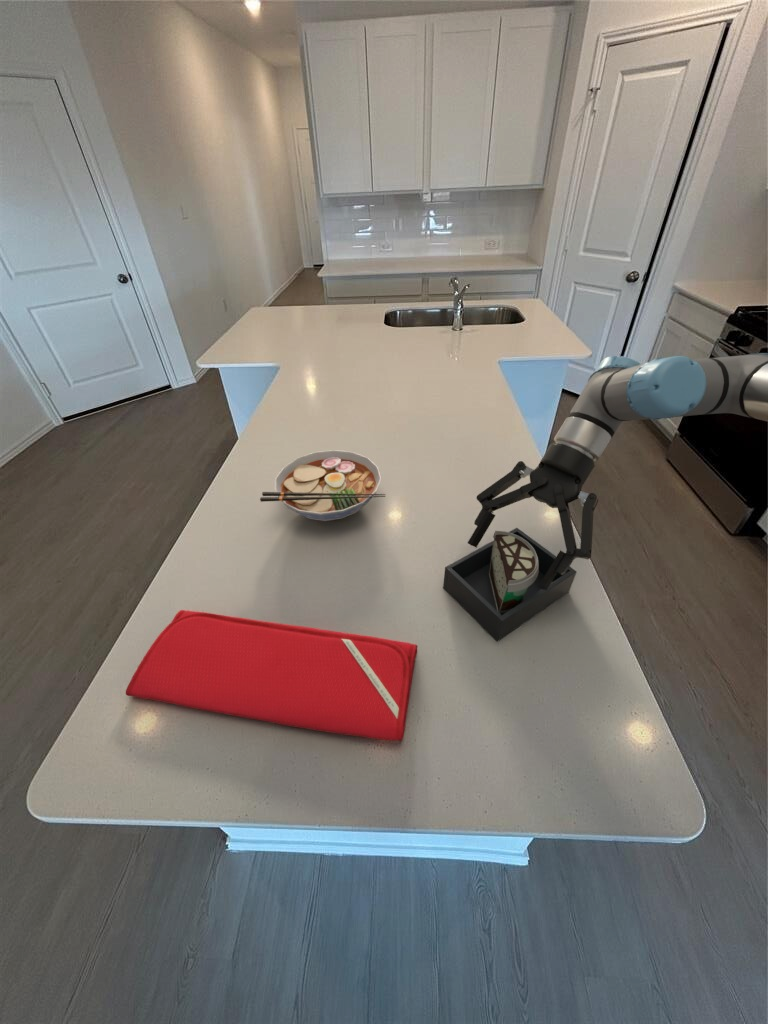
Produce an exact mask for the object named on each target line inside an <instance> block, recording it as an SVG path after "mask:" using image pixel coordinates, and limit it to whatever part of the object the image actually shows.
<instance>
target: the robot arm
mask: <svg viewBox="0 0 768 1024" xmlns="http://www.w3.org/2000/svg"><path fill="white" fill-rule="evenodd" d="M716 414H734V415H738V416H742V417H745V418H750V419H753V420H760V421H763V422H768V353H767V352H755V353H753V352H752V353H748V354H744V355H743V354H741V355H732V356H721V357H720V356H719V357H702V358H701V357H700V358H690V357H688V356H684V355H673V356H668V357H658V358H655V359H651V360H649V361H647V362H644V363H640V362H639V361H637V360H635V359H633V358H630V357H627V356H624V355H621V356H617V355H610V356H607V357H605V358H603V359H602V360H601V361H600V362H599V364H598V365H597V367H596V368H595V370H594V371H593V372H592V373H591V374H590V376H589V377H588V380H587V382H586V384H585V386H584V388H583V389H582V391H581V393H580V394H579V396H578V398H577V399H576V401H575V403H574V405H573V406H572V408H571V409H570V411H569V413H568V415H567V417H566V418H565V420H564V422H563V423H562V425H561V426H560V428H559V429H558V431H557V433H556V434H555V436H554V437H553V441H554V442H553V443H550V445H549V446H548V447H547V450H546V451H545V453H544V455H543V456H542V458H541V459H540V461H539V463H538V465H537V466H536V467H535V468H534V469H533V468H531V467H530V466H528V465H527V464H526V463H525V462H524V461H522V460H520V461H517V463H516V464H515V466H514V467H513V468H512V470H511V471H509V472H508V473H507V474H505V475H503V477H501V478H500V479H498V480H497V481H495V482H494V483H493V484H491V485H490V486H488V487H487V488H486V489H484V490H483V491H481V492H480V493H478V494H477V495H476V501H478V502H479V503H480V505H481V509H480V511H479V513H478V514H477V517H476V518H475V520H474V523H473V524H474V525H475V526H476V527H475V529H474V531H473V532H472V534H471V536H470V538H469V539H468V541H467V544H468V545H469V546H472V547H474V548H478V546H479V544H480V542H481V541H482V539H483V537H484V536H485V534H486V532H487V531H488V530H489V528H490V526H491V524H492V522H493V521H494V520H495V517H496V514H494V512H495V511H498V510H500V509H502V508H503V509H504V508H505V507H508V506H510V505H512V504H515V503H518V502H520V501H523V500H526V499H530V498H534V499H535V500H536V501H537V502H539V503H543V504H546V505H547V506H548V507H550V508H552V509H557V512H558V514H559V519H560V525H561V530H562V535H563V539H564V544H565V545H564V546H565V551H563V550H561V549H560V550H559V552H558V553H557V555H556V558H555V560H554V561H553V563H552V565H551V566H550V568H549V570H548V571H547V573H546V574H545V576H544V578H543V579H542V581H541V583H540V584H539V586H538V587H539V588H541V589H543V590H547V589H548V587H549V585H550V584H551V582H552V581H553V579H554V577H555V576H556V574H557V573H559V574H561V575H563V574H565V573H566V571H567V570H568V568H569V566H570V567H571V566H572V563H573V562H574V560H575V559H578V558H579V559H583V560H590V559H591V557H592V549H593V533H594V532H593V529H594V512H595V510H596V507H597V505H598V503H599V498H598V496H597V495H596V493H594V492H590V493H588V492H586V491H585V492H584V491H582V488H583V487H584V484H585V483H586V481H587V479H588V478H589V477H590V474H591V473H592V472H593V469H594V468H595V466H596V465H595V462H596V461H599V460H600V458H601V456H602V455H603V453H604V451H605V450H606V448H607V447H608V445H609V444H610V442H611V440H612V439H613V437H614V435H615V434H616V432H617V430H618V429H619V427H620V426H621V424H622V423H623V422H631V421H640V420H644V421H645V420H661V419H664V420H665V419H672V418H681V417H689V416H701V415H703V416H704V415H716ZM528 476H529V482H528V483H526V484H523V485H522V486H520V487H519V488H517V489H514V490H512V491H510V492H509V491H508V492H507V493H504V492H505V491H506V490H508V489H509V488H510V487H512V486H513V485H515V484H516V483H518V482H519V481H520V480H521V479H525V478H526V477H528ZM502 493H504V494H502ZM500 494H501V495H500ZM578 499H580V502H579V503H580V506H581V507H582V513H581V530H580V531H581V532H580V548H578V546H577V542H576V537H575V533H574V528H573V522H572V518H571V511H570V505H569V503H570V504H571V503H572V502H575V501H576V500H578Z"/></svg>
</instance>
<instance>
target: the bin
mask: <svg viewBox="0 0 768 1024" xmlns="http://www.w3.org/2000/svg"><path fill="white" fill-rule="evenodd" d="M508 532H509V533H512V534H515V535H517V536H520V537H521V538H523V539H525V540H526V541H527V542H528V543H529V544H530V545H531V546H532V547H533V548H534V550H535V552H536V554H537V557H538V562H539V572H538V576H537V578H536V580H535V581H534V582H533V583H532V584H531V585H530V586H529V587H528V589H527V591H526V594H525V596H524V598H523V601H522V603H520V604H519V605H517V606H516V607H514V608H513V609H511V610H510V611H508V612H507V613H505V614H503V615H501V614H500V613H499V612H498V611H497V608H496V603H495V599H494V595H493V590H492V586H491V582H490V577H489V569H490V562H491V556H492V549H493V542H494V539H493V540H491V541H490V542H488V543H486V544H484V545H483V546H481V547H479V548H477V549H475V550H473V551H472V552H470V553H468V554H466V555H465V556H462V557H461V558H459V559H458V560H456V561H453V562H452V563H450V564H448V565H447V566H445V567H444V575H443V576H444V577H443V584H442V585H443V586H442V588H443V590H444V591H446V593H448V594H449V596H451V597H452V598H453V600H454V601H456V603H457V604H458V605H459V606H460V607H461V608H462V609H463V610H464V611H466V613H468V614H469V615H470V617H472V619H473V620H475V622H477V623H478V625H479V626H480V627H481V628H483V629H484V631H485V632H486V633H487V634H488V635H490V636H491V638H492V639H494V641H496V642H499V641H500V640H502V639H503V638H505V637H506V636H508V635H509V634H510V633H512V632H514V631H515V630H516V629H518V628H519V627H521V626H522V625H524V624H525V623H527V622H528V621H530V620H531V619H532V618H534V617H535V616H537V615H538V614H540V613H541V612H543V611H544V610H546V609H547V608H549V607H550V606H552V605H553V604H555V603H556V602H558V601H559V600H561V599H562V598H563V597H565V596H566V595H568V594H569V593H570V590H571V588H572V586H573V582H574V580H575V578H576V575H577V570H575V569H574V568H573V567H572V566H571V565H570V566H569V568H568V570H567V571H566V573H565V574H563V575H561V574H559V573H557V574H556V576H555V577H554V579H553V581H552V582H551V584H550V585H549V587H548V589H547V590H543V589H541V588H539V587H538V586H539V584H540V583H541V581H542V579H543V578H544V576H545V574H546V573H547V571H548V570H549V568H550V566H551V565H552V563H553V561H554V560H555V558H556V557H557V555H555V554H554V553H553V552H551V551H550V550H548V549H547V548H546V547H544V546H543V545H541V544H540V543H539V542H538V541H536V540H535V539H533V538H532V537H530V535H527V533H525V532H524V531H522V530H521V529H519V528H518V527H515V528H514V529H512V530H510V531H508Z"/></svg>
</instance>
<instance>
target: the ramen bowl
mask: <svg viewBox="0 0 768 1024" xmlns="http://www.w3.org/2000/svg"><path fill="white" fill-rule="evenodd" d="M379 469H380V468H379V466H378V465H377V464H376V463H375V462H373V460H371V458H369V457H367V456H365V455H363V454H360V453H357V452H354V451H349V450H342V449H341V450H340V449H339V450H338V449H329V450H320V451H314V452H311V453H307V454H305V455H302V456H299V457H296V458H295V459H293V460H292V461H290V462H288V463H287V464H286V465H284V466H283V467H282V468H281V470H280V471H279V472H278V473H277V475H276V476H275V478H274V491H262V493H261V494H262V496H261V497H260V498H259V501H260V503H263V502H281V503H282V504H283V505H284V506H285V508H288V509H289V510H291V511H292V512H294V513H296V514H299V516H302V517H305V518H306V519H309V520H315V521H321V522H327V521H334V520H335V521H336V520H342V519H344V518H346V517H347V518H348V517H349V516H351V515H354V514H357V513H358V512H359V511H360V510H361V509H362V508H363V507H365V506H366V505H367V504H368V503H369V502H370V501H371V500H372V499H373V498H386V494H385V493H376V492H377V490H378V488H379V486H380V483H381V481H382V476H381V473H380V470H379Z"/></svg>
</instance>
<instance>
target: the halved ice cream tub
mask: <svg viewBox="0 0 768 1024" xmlns="http://www.w3.org/2000/svg"><path fill="white" fill-rule="evenodd" d="M509 532H510V531H505V530H504V531H503V530H495V531H494V532H493V536H492V538H493V540H494V542H493V549H492V556H491V562H490V569H489V577H490V582H491V586H492V590H493V595H494V599H495V603H496V608H497V611H498V612H499V613H500V614H501V615H503V614H505V613H507V612H508V611H510V610H511V609H513V608H514V607H516V606H517V605H519V604H520V603H522V601H523V598H524V596H525V594H526V591H527V589H528V587H529V586H530V585H531V584H532V583H533V582H534V581H535V580H536V578H537V576H538V572H539V562H538V557H537V554H536V552H535V550H534V548H533V547H532V546H531V545H530V544H529V543H528V542H527V541H526V540H525V539H523V538H521V537H520V536H517V535H515V534H512V533H509Z"/></svg>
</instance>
